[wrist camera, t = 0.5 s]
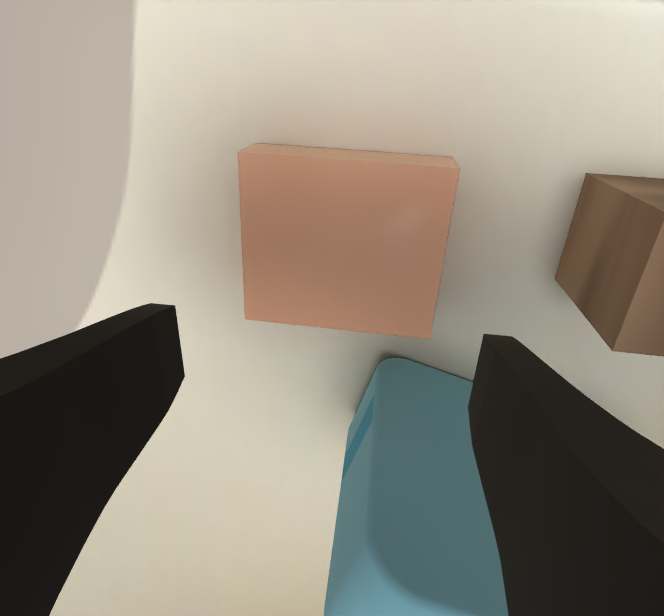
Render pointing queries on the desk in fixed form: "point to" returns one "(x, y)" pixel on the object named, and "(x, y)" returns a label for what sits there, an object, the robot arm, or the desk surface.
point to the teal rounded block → (413, 504)
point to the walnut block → (618, 261)
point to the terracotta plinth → (344, 237)
